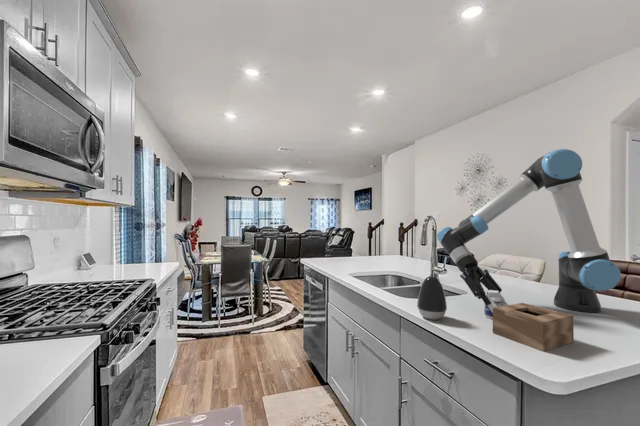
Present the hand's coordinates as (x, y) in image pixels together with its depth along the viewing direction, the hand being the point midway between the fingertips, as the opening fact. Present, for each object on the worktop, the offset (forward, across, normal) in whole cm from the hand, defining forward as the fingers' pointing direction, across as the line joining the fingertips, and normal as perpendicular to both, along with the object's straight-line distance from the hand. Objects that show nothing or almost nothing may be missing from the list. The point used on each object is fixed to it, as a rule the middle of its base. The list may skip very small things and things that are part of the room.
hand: (502, 311), depth 112 cm
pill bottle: (0, 0, -5) cm, 5 cm away
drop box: (+12, +7, +8) cm, 16 cm away
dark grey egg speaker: (-6, +21, -12) cm, 25 cm away
